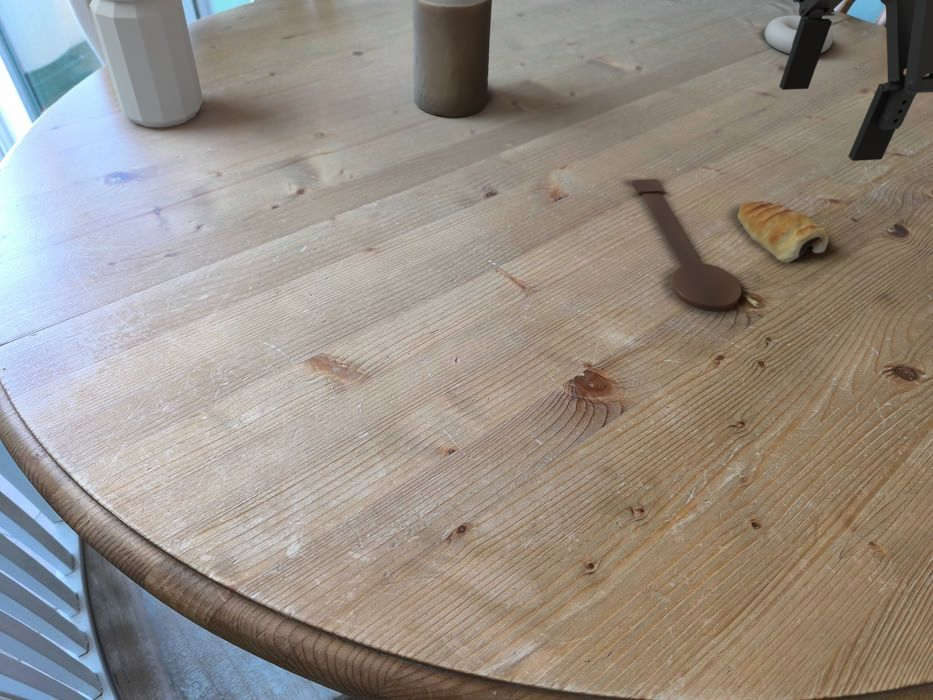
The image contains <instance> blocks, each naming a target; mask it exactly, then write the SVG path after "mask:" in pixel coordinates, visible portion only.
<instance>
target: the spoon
mask: <svg viewBox="0 0 933 700" xmlns="http://www.w3.org/2000/svg"><path fill="white" fill-rule="evenodd" d="M631 186H633V188H634V190H635V192H636V193H637V196H642V198H643V199H644V201H645V203H646V205H647V207H648V208H649V211H650V212H651V214H652V216H653V217H654V219H655V221H656V223H657V224H658V226H659V228H660V230H661V232H662V234H663V235H664V237H665V239H666V240H667V243H668V244H669V246H670V248H671V250H672V251H673V253H674V255H675V257H676V258H677V260H678V262H679V263H680V266H679V267H678V268H677V269H676V270H674V272H673V273H672V277H671V280H670V288H671V290H672V292H673V294H674V295H675V296H676V297H677V298H678V299H679V301H681V302H682V303H684V304H685V305H687V306H690V307H691V308H695V309H697V310H702V311H705V312H722V311H727V310H729V309H732V308H733V307H735V306H736V305H737V304H738V302H739V301H740V298H741V295H742V286H741V283H740V282H739V280H738V279H737V278H736V277H735V276H734V275H733V274H732V273H731V272H729V271H728V270H726V269H724V268H722V267H719V266H717V265H713V264H709V263H704V262H701V260H700V258H699V256H698V255H697V252H696V251H695V250H694V247H692V244H691V242H690V241H689V239H688V238H687V236H686V233H684V231H683V229H682V228H681V226H680V224H679V222H678V221H677V219H676V217H675V216H674V214H673V212H672V210H671V209H670V207H669V206H668V204H667V203H666V201H665V199H664V197H663V196H662V195H663V194H664V188H663V187H662V186H661V184H660V183H659V180H658V179H657V178H655V179H654V178H653V179H652V178H651V179H633V180H632V183H631Z"/></svg>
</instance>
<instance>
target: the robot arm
mask: <svg viewBox="0 0 933 700" xmlns="http://www.w3.org/2000/svg"><path fill="white" fill-rule="evenodd" d="M843 1H844V0H792V2H793V3H798V4H799V8H798V16H801V19H800V22H799V25H798V28H797V31H796V34H795V37H794V40H793V44H792V49H791V52H790V54H788V58H787V62H786V65H785V67H784V70H783V74H782V76H781V80H780V83H779V85H778V87H779V88H780V89H781V90H782V91H787V90H788V91H789V90H808V89H809V87H810V85H811V82H812V79H813V76H814V74H815V70H816V68H817V65H818V63H819V60H820V57H821V54H822V53H821V51H822V49H823V46H824V43H825V40H826V37H827V35H828V32H829V29H830V30H831V26H832V24H833V21H832V20H831V19H830V18H823V17H833V16H835V15H836V13H835V9H836V8H837V7H838V6H839V5H840V4H842V2H843ZM879 1H880V2H881V3H882V4H883V5H884V6H885V22H886V23H885V25H886V26H885V29H886V59H887V60H886V62H887V65H886V66H887V81H886V82H883V83H879V84H878V86H877V88H876V90H875V93H874V94H873V97H872V100H871V102H870V104H869V106H868V109H867V111H866V114H865V116H864V118H863V121H862V123H861V125H860V127H859V130H858V132H857V135H856V136H855V140H854V142H853V145H852V146H851V148H850V150H849V154H848V158H849V159H850V160H851V161H852V162H859V161H860V162H861V161H876V160H877V161H878V160H883V157H884V155H885V153H886V152H887V149H888V147H889V144H890V142H891V140H892V138H893V136H894V134H895V132H896V130H898V129H899V128H900V127H901V126H902V125H903V123H904V121H905V118H906V116H907V115H908V113H909V110H910V108H911V107H912V106H911V105H912V103H913V101H914V99H915V97H916V96H917V95H918V94H923V93H924V94H927V93H933V0H879ZM905 70H906V71H905Z"/></svg>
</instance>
